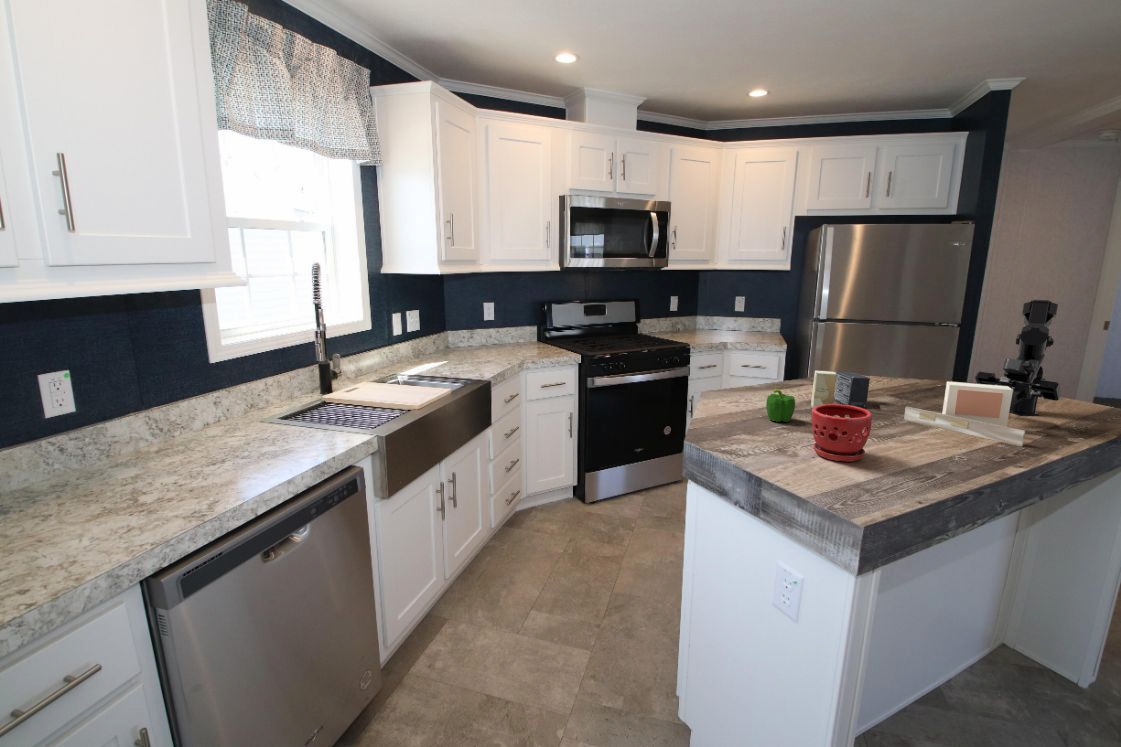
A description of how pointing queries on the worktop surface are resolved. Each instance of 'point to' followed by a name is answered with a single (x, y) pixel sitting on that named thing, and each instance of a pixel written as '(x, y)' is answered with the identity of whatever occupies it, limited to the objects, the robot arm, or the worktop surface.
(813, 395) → the skincare box
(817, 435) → the plant pot
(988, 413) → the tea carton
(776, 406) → the bell pepper
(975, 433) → the shelf board
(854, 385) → the small box
